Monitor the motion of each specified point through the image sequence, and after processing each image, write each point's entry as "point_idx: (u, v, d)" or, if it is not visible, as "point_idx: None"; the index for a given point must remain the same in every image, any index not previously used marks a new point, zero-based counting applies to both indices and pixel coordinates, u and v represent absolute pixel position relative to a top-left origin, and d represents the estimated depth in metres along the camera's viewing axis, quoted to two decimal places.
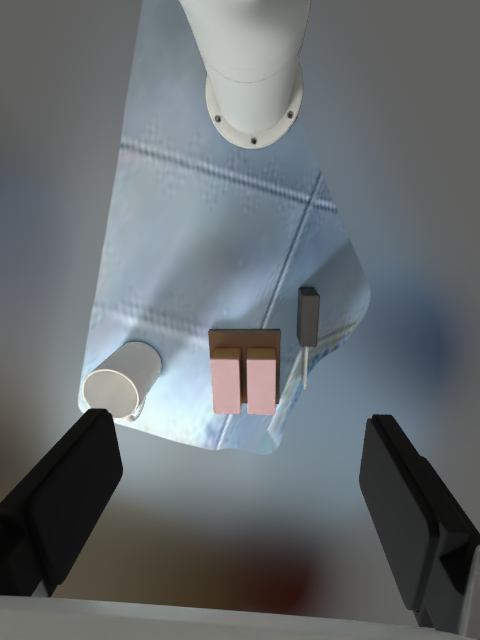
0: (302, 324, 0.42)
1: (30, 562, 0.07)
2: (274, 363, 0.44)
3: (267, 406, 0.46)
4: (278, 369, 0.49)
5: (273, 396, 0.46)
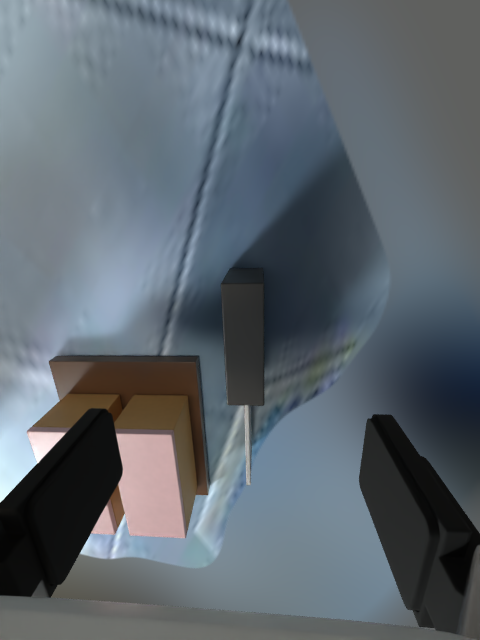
0: (226, 355, 0.17)
1: (30, 562, 0.07)
2: (169, 441, 0.19)
3: (166, 522, 0.22)
4: (200, 435, 0.24)
5: (177, 505, 0.21)
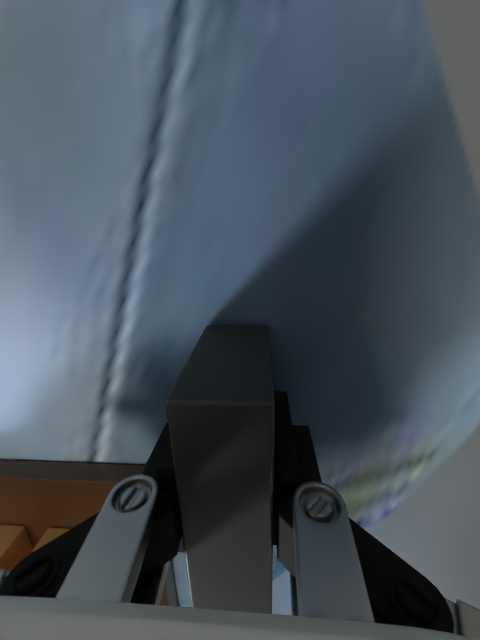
0: (188, 542, 0.08)
1: (179, 517, 0.08)
2: None
3: None
4: None
5: None
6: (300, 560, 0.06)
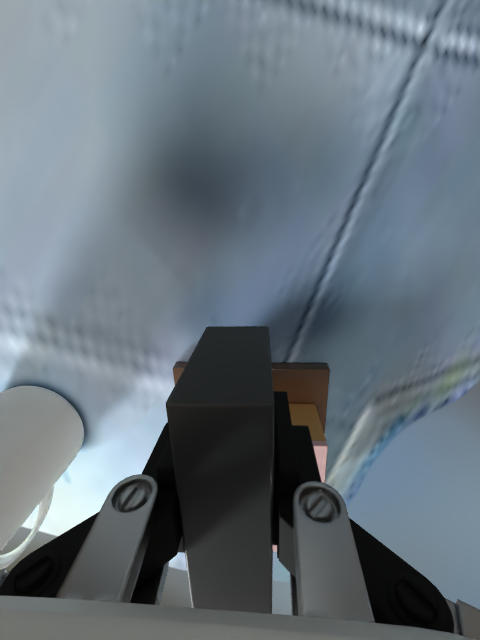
0: (188, 543, 0.08)
1: (179, 517, 0.08)
2: (323, 453, 0.18)
3: None
4: None
5: None
6: (300, 560, 0.06)
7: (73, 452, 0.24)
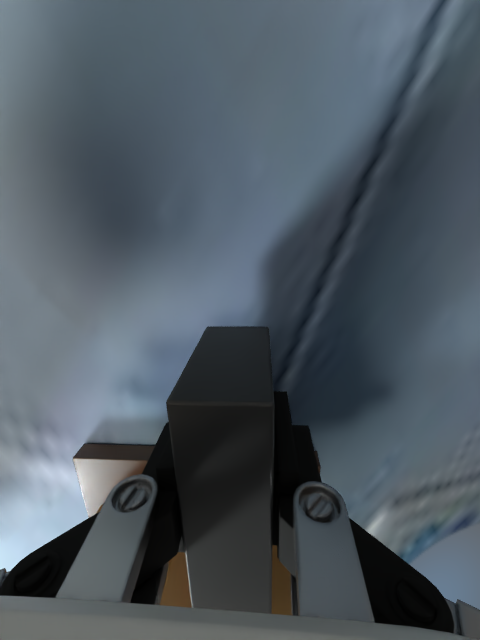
0: (188, 542, 0.08)
1: (179, 517, 0.08)
2: None
3: None
4: None
5: None
6: (300, 560, 0.06)
7: None
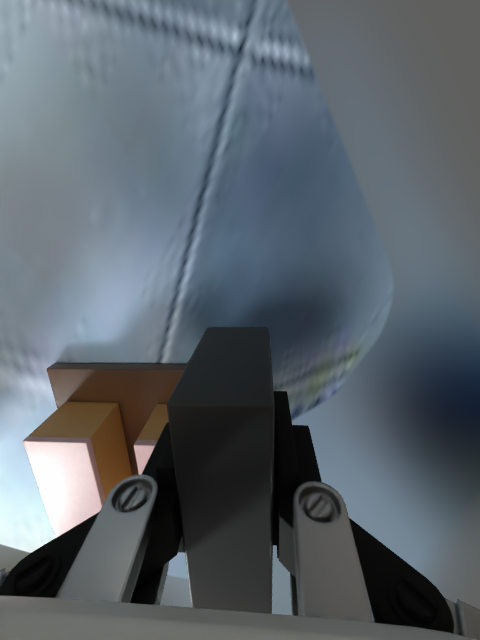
0: (188, 543, 0.08)
1: (179, 517, 0.08)
2: None
3: None
4: None
5: None
6: (300, 560, 0.06)
7: None
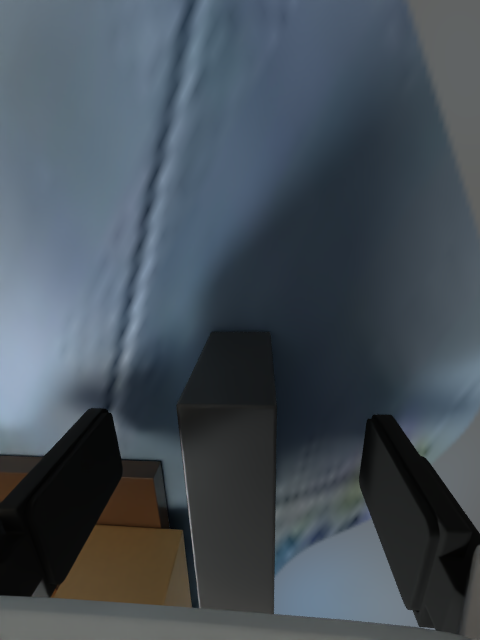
0: (195, 536, 0.08)
1: (30, 562, 0.07)
2: None
3: None
4: None
5: None
6: None
7: None
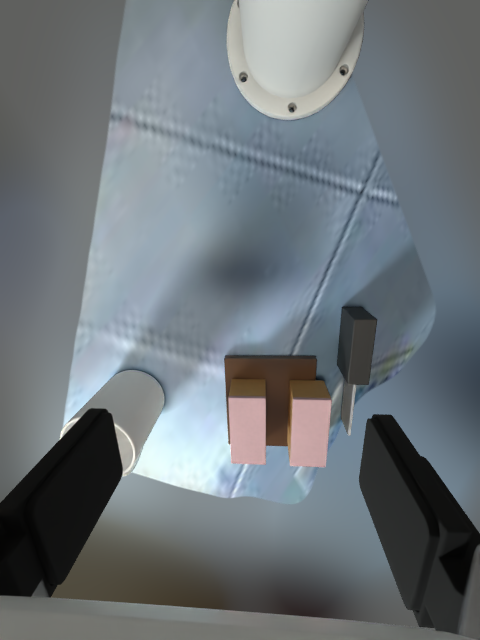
0: (351, 356, 0.32)
1: (30, 562, 0.07)
2: (329, 404, 0.33)
3: (316, 456, 0.36)
4: None
5: (325, 445, 0.35)
6: None
7: (160, 410, 0.39)
